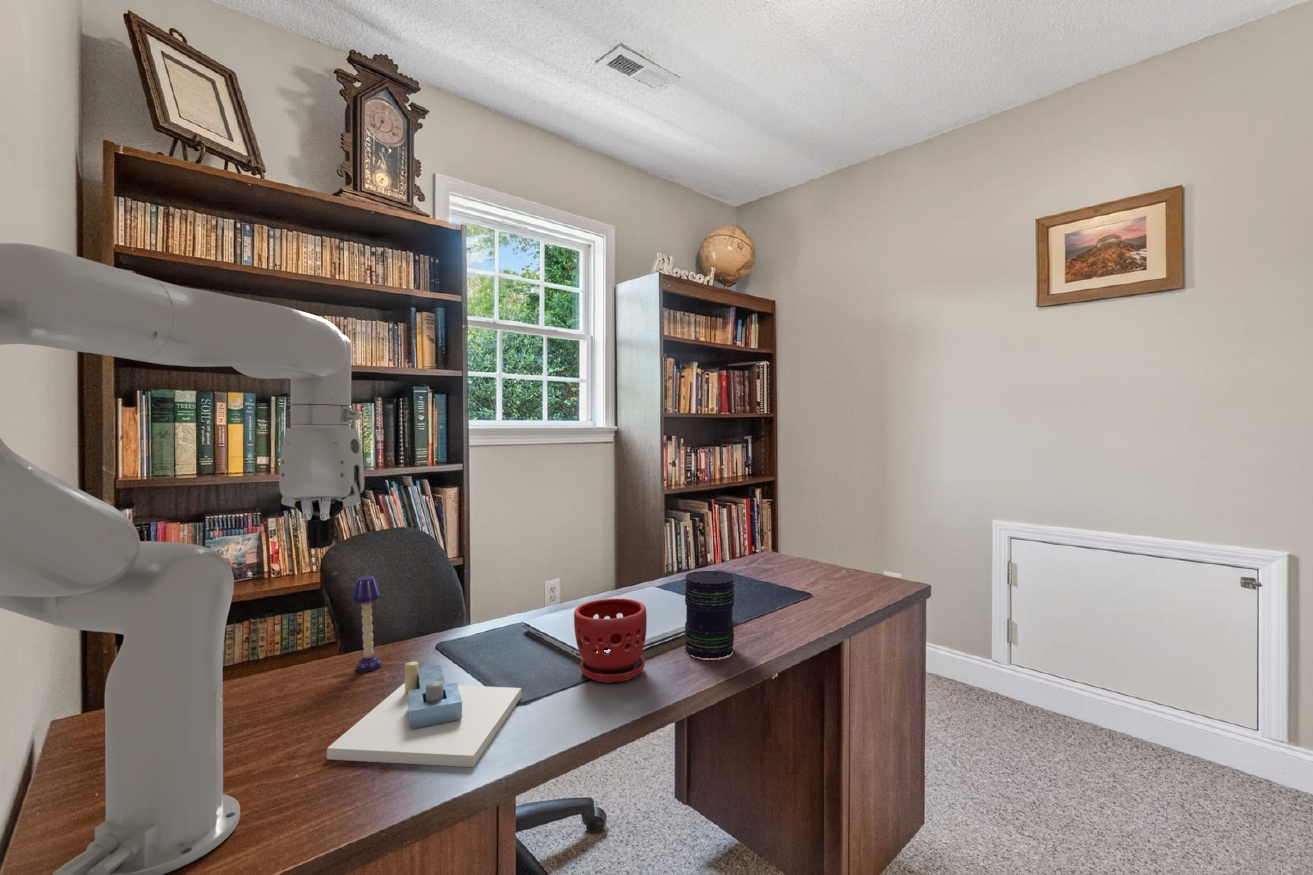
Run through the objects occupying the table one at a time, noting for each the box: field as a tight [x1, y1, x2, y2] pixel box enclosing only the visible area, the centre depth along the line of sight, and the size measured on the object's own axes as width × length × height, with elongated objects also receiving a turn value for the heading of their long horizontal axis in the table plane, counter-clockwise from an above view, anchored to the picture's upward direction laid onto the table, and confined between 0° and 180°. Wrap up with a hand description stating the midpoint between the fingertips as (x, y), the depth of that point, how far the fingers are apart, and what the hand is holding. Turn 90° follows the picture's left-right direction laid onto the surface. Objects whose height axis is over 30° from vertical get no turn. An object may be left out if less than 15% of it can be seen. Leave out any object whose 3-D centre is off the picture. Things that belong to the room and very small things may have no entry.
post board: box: [326, 661, 522, 768], centre depth 86 cm, size 20×20×6 cm
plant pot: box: [573, 598, 648, 684], centre depth 105 cm, size 13×13×12 cm
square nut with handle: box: [408, 664, 462, 729], centre depth 90 cm, size 16×7×2 cm, turn 25°
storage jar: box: [684, 570, 735, 659], centre depth 116 cm, size 10×10×15 cm
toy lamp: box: [351, 575, 382, 673], centre depth 107 cm, size 5×5×17 cm
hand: (321, 546), depth 83 cm, fingers closed
